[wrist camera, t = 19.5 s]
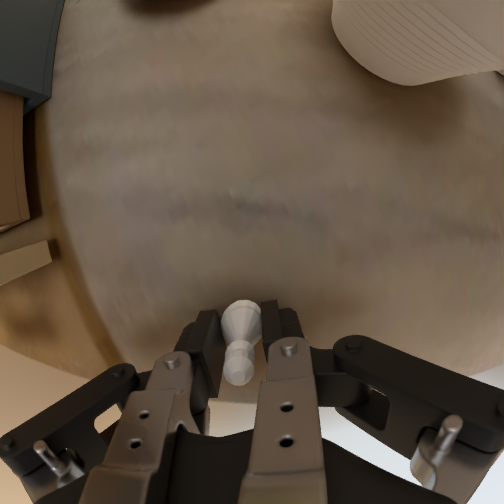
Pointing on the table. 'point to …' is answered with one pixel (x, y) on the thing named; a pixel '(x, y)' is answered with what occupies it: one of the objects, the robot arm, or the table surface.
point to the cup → (422, 37)
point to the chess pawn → (240, 340)
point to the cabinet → (28, 48)
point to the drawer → (15, 191)
